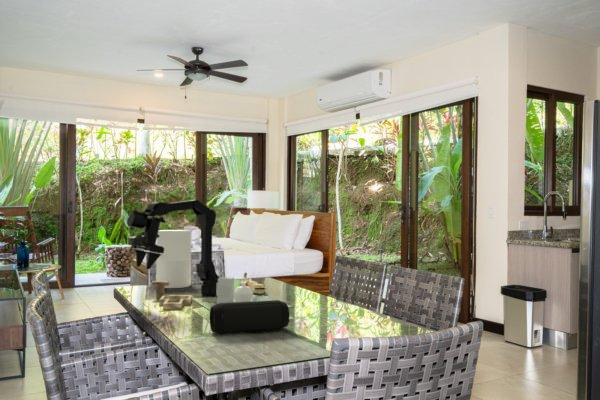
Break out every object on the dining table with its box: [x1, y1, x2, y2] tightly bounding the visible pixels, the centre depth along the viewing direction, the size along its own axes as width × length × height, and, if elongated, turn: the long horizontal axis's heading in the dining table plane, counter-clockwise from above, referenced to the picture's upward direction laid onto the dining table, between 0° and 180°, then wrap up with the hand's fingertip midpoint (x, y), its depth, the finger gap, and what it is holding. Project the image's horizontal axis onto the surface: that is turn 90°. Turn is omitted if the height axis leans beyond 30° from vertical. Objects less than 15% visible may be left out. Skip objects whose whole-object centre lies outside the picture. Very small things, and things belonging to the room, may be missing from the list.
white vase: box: [233, 281, 254, 302], centre depth 192 cm, size 8×8×12 cm
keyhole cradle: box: [158, 294, 193, 310], centre depth 204 cm, size 12×18×2 cm
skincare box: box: [216, 276, 235, 304], centre depth 202 cm, size 6×4×12 cm
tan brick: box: [151, 280, 169, 300], centre depth 217 cm, size 7×3×8 cm, turn 97°
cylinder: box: [155, 229, 192, 289], centre depth 253 cm, size 17×17×28 cm
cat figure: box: [238, 272, 268, 295], centre depth 242 cm, size 10×9×25 cm
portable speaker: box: [209, 299, 290, 335], centre depth 165 cm, size 26×10×10 cm, turn 111°
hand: (142, 267), depth 205 cm, fingers open, 9 cm apart
